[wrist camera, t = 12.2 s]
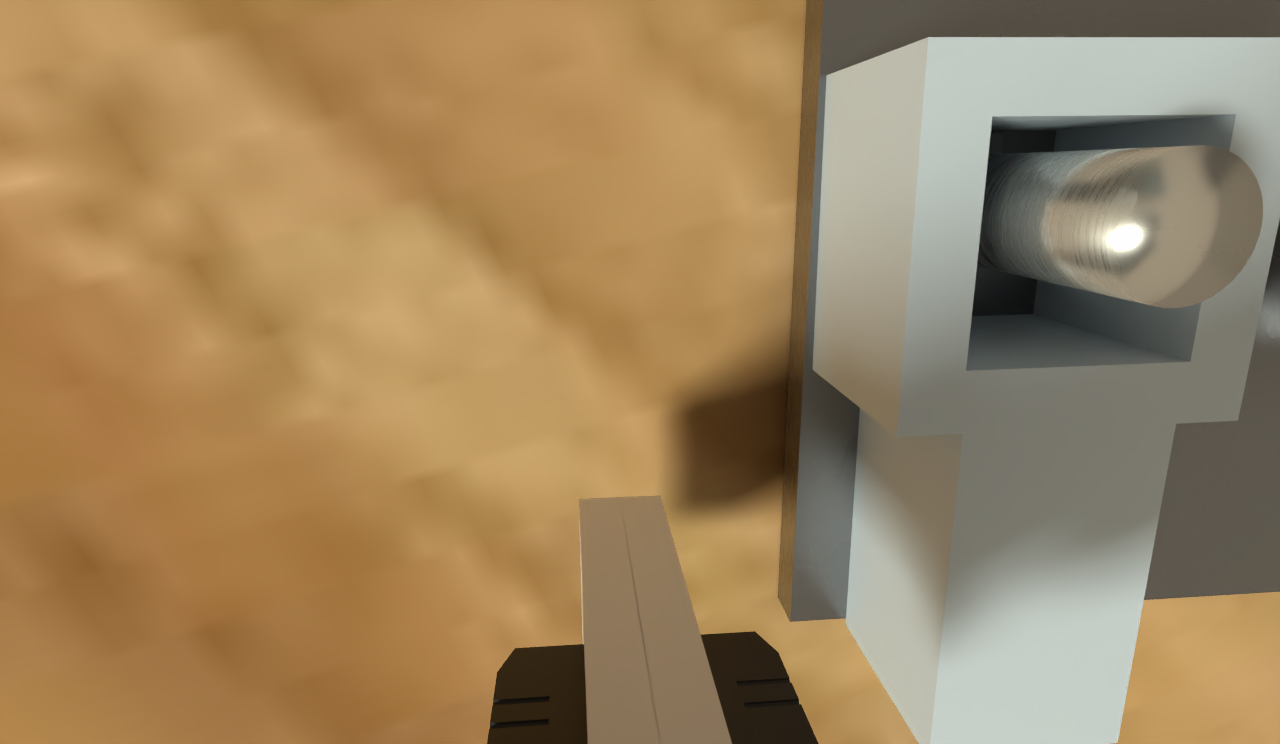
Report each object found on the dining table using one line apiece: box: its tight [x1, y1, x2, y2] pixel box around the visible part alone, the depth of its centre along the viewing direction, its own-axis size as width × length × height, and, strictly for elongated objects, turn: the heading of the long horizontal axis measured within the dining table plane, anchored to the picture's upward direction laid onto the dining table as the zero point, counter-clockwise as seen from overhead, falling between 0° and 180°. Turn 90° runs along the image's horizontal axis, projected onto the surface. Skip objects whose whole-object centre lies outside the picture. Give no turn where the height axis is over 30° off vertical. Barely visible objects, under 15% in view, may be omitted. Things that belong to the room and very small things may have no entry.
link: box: [813, 37, 1280, 744], centre depth 13 cm, size 12×6×4 cm, turn 1°
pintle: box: [977, 145, 1263, 308], centre depth 12 cm, size 2×2×6 cm
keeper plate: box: [778, 0, 1280, 622], centre depth 13 cm, size 13×15×7 cm
